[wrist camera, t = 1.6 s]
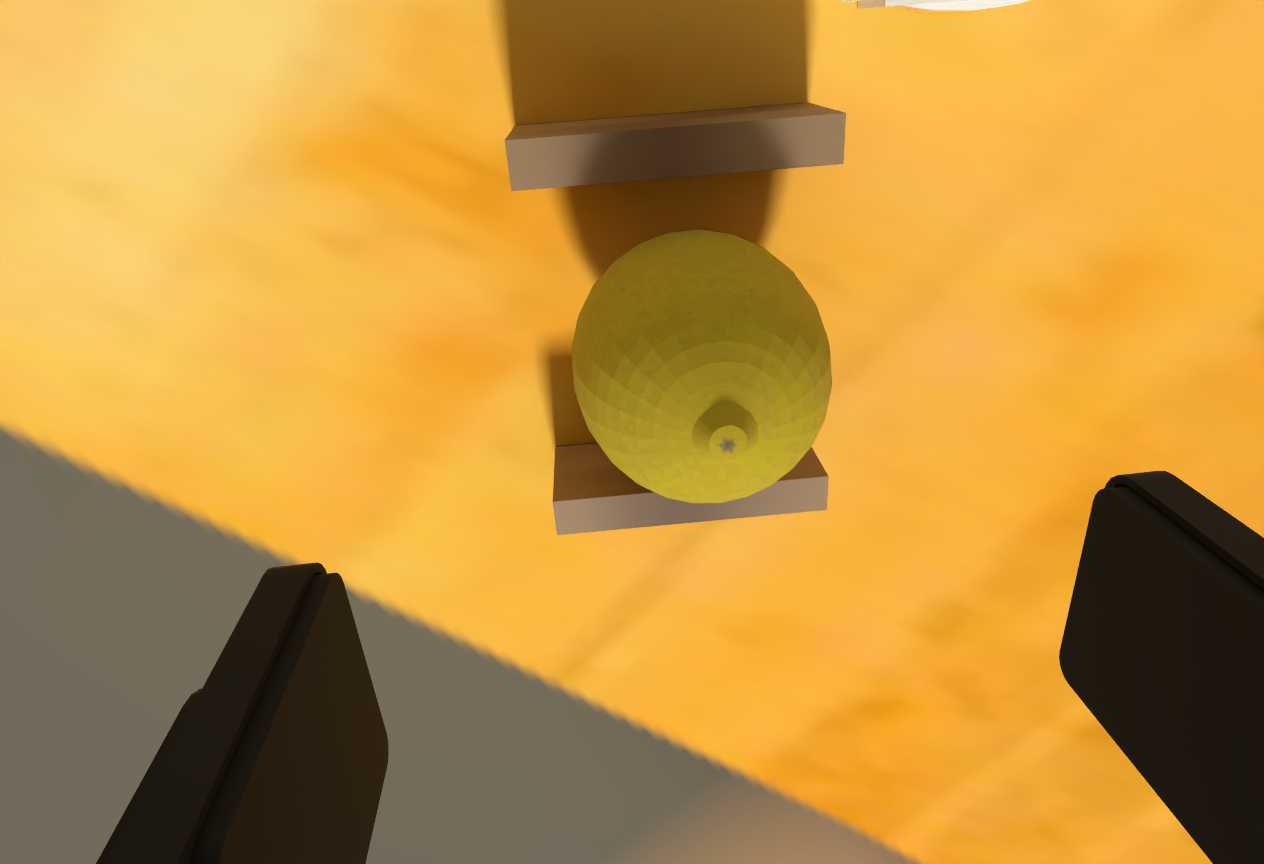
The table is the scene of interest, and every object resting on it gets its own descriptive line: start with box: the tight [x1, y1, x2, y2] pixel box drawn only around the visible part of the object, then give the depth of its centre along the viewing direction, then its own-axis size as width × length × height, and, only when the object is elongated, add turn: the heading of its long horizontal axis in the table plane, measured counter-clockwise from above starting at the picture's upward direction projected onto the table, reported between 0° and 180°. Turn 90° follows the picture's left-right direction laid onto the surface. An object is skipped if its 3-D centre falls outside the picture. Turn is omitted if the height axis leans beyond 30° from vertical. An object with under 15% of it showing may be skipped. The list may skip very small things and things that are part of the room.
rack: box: [505, 102, 846, 535], centre depth 20 cm, size 7×10×3 cm
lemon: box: [571, 229, 832, 503], centre depth 18 cm, size 6×6×8 cm
